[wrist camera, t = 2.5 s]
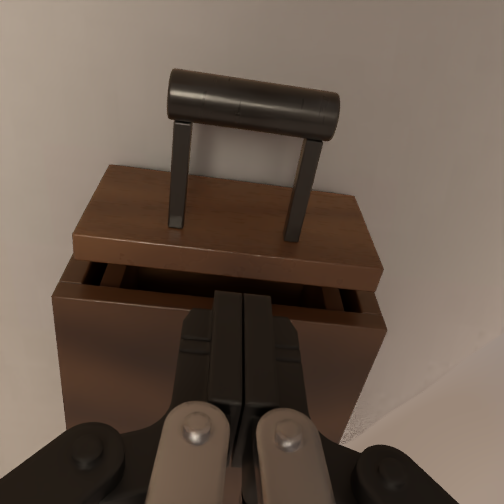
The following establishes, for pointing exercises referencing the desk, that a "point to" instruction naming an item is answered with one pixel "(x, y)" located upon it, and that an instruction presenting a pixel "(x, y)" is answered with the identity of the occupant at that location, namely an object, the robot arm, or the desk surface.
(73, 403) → the cabinet
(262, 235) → the drawer
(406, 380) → the desk surface
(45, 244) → the desk surface
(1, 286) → the desk surface
